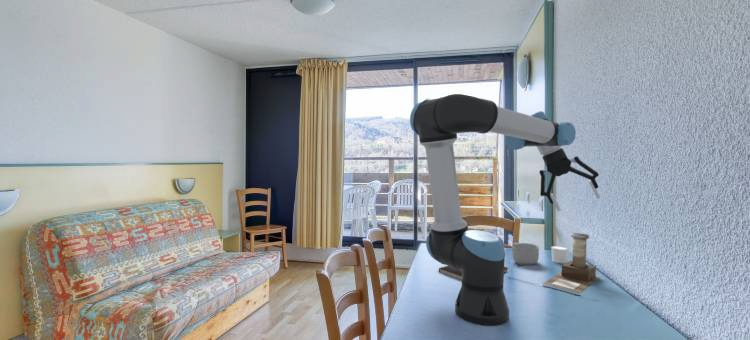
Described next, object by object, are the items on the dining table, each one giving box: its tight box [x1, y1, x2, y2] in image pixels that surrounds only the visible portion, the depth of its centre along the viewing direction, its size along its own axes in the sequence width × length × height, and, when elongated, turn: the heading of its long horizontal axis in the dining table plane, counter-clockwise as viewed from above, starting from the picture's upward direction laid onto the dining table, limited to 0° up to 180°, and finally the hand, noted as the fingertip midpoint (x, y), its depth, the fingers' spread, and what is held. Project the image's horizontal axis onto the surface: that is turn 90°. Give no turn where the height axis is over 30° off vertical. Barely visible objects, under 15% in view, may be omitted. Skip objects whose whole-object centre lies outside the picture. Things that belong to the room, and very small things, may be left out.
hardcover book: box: [438, 265, 509, 281], centre depth 141 cm, size 16×23×2 cm
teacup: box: [511, 242, 540, 267], centre depth 154 cm, size 14×11×8 cm
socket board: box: [542, 260, 601, 297], centre depth 130 cm, size 23×12×5 cm, turn 133°
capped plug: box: [570, 232, 590, 269], centre depth 134 cm, size 6×6×16 cm
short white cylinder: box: [550, 245, 570, 264], centre depth 154 cm, size 7×7×7 cm
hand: (578, 204), depth 129 cm, fingers open, 13 cm apart
